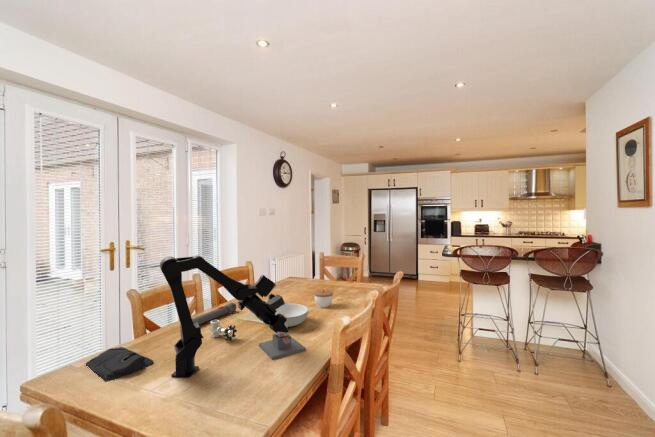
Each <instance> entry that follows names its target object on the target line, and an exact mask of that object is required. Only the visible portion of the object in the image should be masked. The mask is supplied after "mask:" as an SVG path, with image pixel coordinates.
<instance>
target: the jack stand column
mask: <svg viewBox="0 0 655 437" xmlns="http://www.w3.org/2000/svg"><path fill="white" fill-rule="evenodd" d="M283 316H284V317H285V318H287V316H285V315H283ZM284 324H285V326H286V327H287V329H288V325H287V321H286V322H285V323H284ZM288 330H289V329H288ZM288 332H289V331H288ZM288 332H287V333H284V332H279V331H278V332H277V333H275V334H276V337H278V338H283V337H287V336H288V334H289V333H288Z"/></svg>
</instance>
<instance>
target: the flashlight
mask: <svg viewBox="0 0 655 437" xmlns="http://www.w3.org/2000/svg"><path fill="white" fill-rule="evenodd" d="M236 310H237V304H236V303H235V302H232V301H231V302H230V303H226V304H225V305H224V306H220V307H218V308H216V309H213V310H211V311H207V312H206V313H203V314H199V315H197V316H195V317H191V318H192V321H193V323H196V322H198V324H199V326H201V325H202V324H204V323H207V322H211V321H212V320H216V319H217V318H220V317H221V316H224V315H226V314H232V313H234V312H235V311H236Z"/></svg>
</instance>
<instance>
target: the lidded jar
mask: <svg viewBox="0 0 655 437" xmlns="http://www.w3.org/2000/svg"><path fill="white" fill-rule="evenodd" d="M313 293H314V294H313V295H314V296H313V297H314V303H315V304H316V306H317V307H319V308H320V309H321V308H325V309H326V308H329V306H330V305H331V304H332V302H333V296H334V292H333V291H331V290H326V289H322V290H316V291H314V292H313Z"/></svg>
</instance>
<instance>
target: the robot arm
mask: <svg viewBox="0 0 655 437" xmlns="http://www.w3.org/2000/svg"><path fill="white" fill-rule="evenodd" d="M159 268H160V271H161V273H162V275H163V276H164V278H165V280H166V282H167V284H168V287H169V289H170V292H171V296H172V299H173V302H174V306H175V310H176V313H177V314H176V315H177V317H178V320H179V326H180V327H179V328H180V331H179V332H180V338H179V340H178V341H177V342H176V343H175V344H174V346H173V347H174V351H175V354H176V355H175V370H174V371H173V373H171V375H170V376H171V377H172V378H173V377H175V378H179V377H180V378H191V377H192V376H193V375H194V374H195V372H197V371H198V369H200V366H198V365H195V364H196V363H195V362H196V361H195V359H196V358H195V357H196V355H197V354H196V353H197V351H198V350H199V348H201V346H202V344H203V340H202V339H204V336H203V334H202V330H201V325H199V324H198V322H196V323H193V321H192V318H193V317H192V315H191V312H190V311H191V310H190V307H189V304H188V301H187V296H186V293H185V289H184V286H183V272H188V271H191V270H196V269H197V270H199V271H200V272H202V273H204V274H205V275H206V276H208V277H210V279H212V280H213V281H215V282H217V283H218V284H219V285H220V286H222V287H223V288H224V289H225V290H226V291H227V292H228V293H229V295H231V296H232V297H233V298H234V299H236V300H237V302H238V306H237V308H238V309H239V310H240V311H243V310H244V309H245V308H246V309H248V310H249V311H250V312H251V313H252V314H253V315H254V316H256V318H257V319H258V320H260V321H261V322H263V324H265V325H269V326H268V327H269V329H271V330H272V331H273V332H274V334H276V333H277V332H278V331H279V332H284V333H287V332H289V329H287V327H286V326H285V324H284V323H285V322H286V321H287V318H285V317H284V316H283V315H281V314H277V315H275V313H276V312H277V311H276V310H275V309H277V308H279V307H280V306H282V305H284V304H286V302H285V300H284V299H283V296H282V295H280V294H278V293H277V294H273V293H271V292H273V289H274V288H275V287H276V286H277V285H276V283H275V282H274V281H273V280H272V279H269V278H268V277H267V276H266V275H264V274H261V275H260V276H259V279H257V281H255V283H254V284H250V283H249V284H248V283H246V284H244V283H243V282H241V281H239V280H236V279H234V278H232V277H230V276H228V275H226V274H225V273H224V272H222V271H221V270H220V269H218V268H216V267H215V266H214V265H212V264H211V263H209V261H207V260H206V259H205V258H204V257H202V256H201V255H194V256H184V257H183V256H182V257H173V256H166V257H164V258H162V259H161V261H160V263H159ZM257 294H258V295H259V296H258V295H257ZM267 297H268V299H267V301H265V300H264V299H262V298H267Z"/></svg>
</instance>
